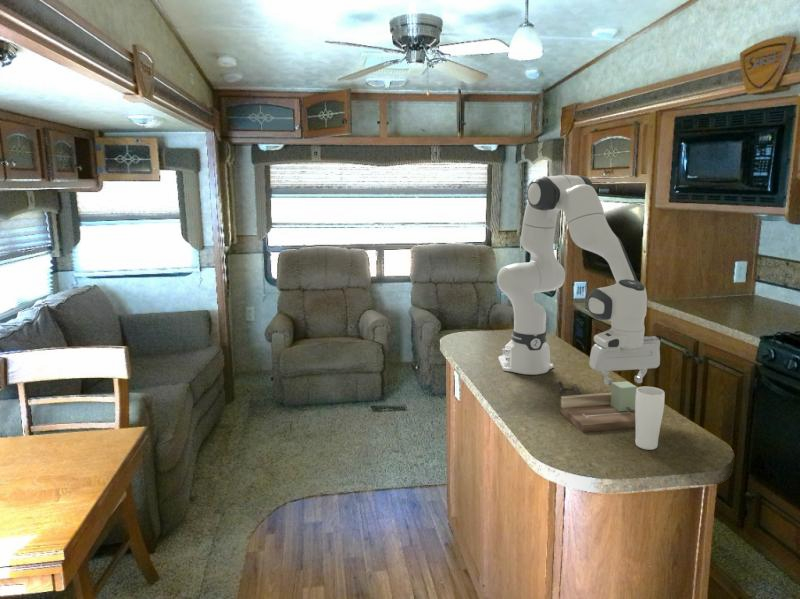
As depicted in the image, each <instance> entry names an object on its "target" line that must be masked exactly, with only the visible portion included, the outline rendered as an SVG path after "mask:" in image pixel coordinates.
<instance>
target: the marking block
mask: <svg viewBox="0 0 800 599" xmlns="http://www.w3.org/2000/svg"><path fill="white" fill-rule="evenodd" d="M610 386H611V387H610V393H611V403H610V405H611V406H612V407H614V408H615V409H617V410H618V411H631V410H635V396H636V389H637V388H638V386H636V385H634V384H633V383H631V382H629V381H626V380H625V381H614V382H613V381H612V385H610Z"/></svg>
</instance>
